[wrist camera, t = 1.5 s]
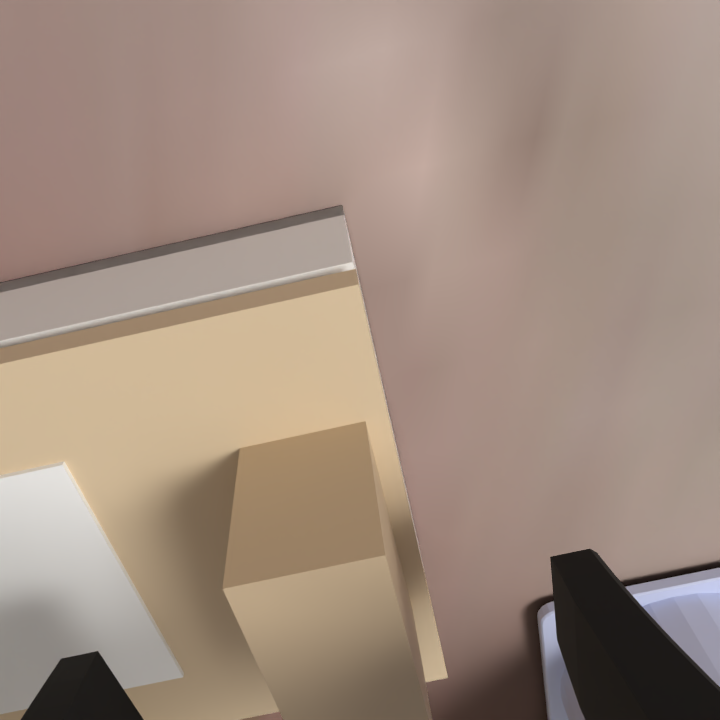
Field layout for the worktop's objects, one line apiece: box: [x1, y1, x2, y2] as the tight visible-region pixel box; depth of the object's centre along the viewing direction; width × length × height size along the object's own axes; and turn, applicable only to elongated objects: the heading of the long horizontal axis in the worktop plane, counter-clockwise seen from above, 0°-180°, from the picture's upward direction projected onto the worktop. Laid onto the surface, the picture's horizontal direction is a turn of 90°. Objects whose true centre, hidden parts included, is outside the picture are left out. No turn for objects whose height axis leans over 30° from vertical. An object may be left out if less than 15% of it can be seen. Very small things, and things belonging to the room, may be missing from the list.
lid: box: [0, 269, 448, 720], centre depth 12 cm, size 13×10×4 cm
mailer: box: [0, 205, 425, 573], centre depth 15 cm, size 13×10×3 cm
